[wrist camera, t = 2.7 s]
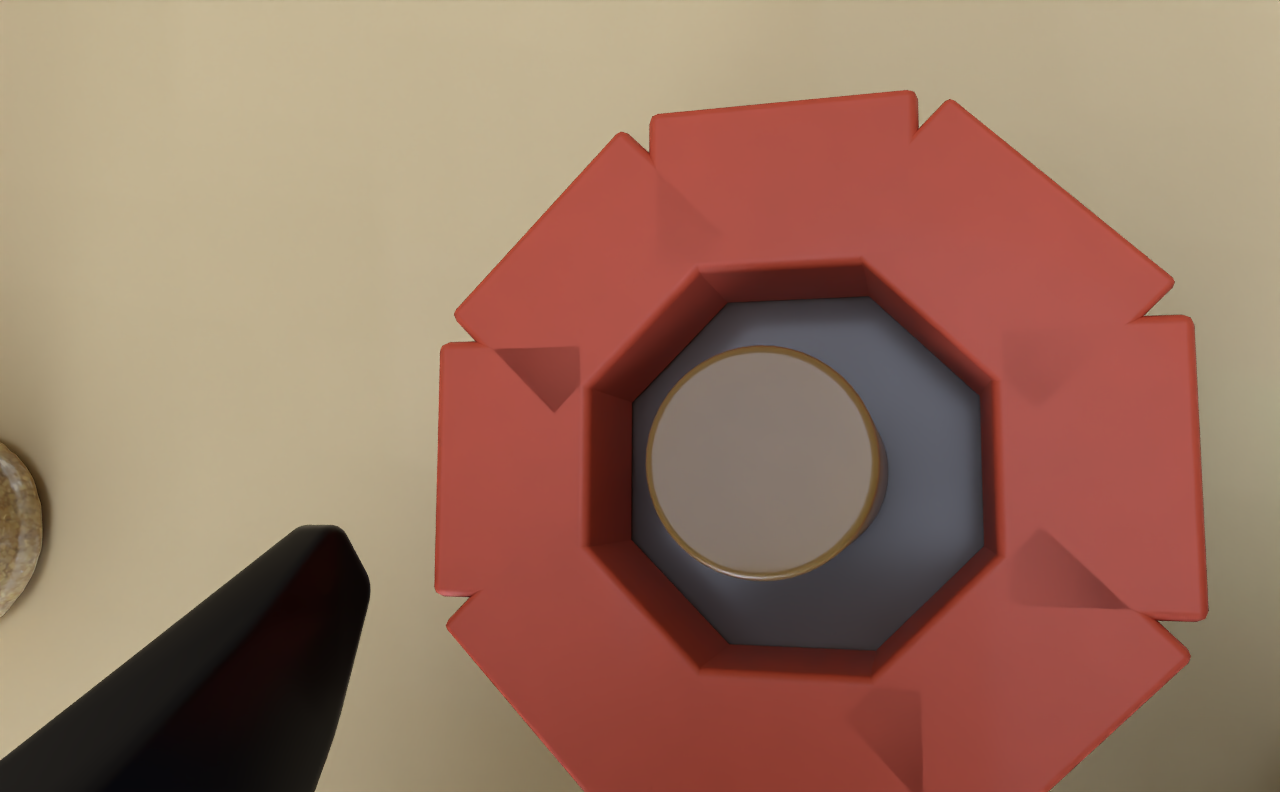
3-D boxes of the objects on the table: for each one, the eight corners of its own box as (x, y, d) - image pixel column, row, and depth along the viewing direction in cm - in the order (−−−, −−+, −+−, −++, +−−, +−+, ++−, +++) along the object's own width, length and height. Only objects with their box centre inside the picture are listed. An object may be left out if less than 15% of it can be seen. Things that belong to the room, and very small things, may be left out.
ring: (1174, 838, 9) (1227, 908, 8) (491, 781, 11) (424, 827, 9) (1141, 125, 10) (1183, 59, 8) (502, 179, 12) (441, 131, 10)
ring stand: (1296, 535, 16) (1990, 609, 6) (800, 887, 17) (644, 1449, 7) (887, 94, 18) (858, -413, 8) (480, 436, 20) (18, 372, 9)
